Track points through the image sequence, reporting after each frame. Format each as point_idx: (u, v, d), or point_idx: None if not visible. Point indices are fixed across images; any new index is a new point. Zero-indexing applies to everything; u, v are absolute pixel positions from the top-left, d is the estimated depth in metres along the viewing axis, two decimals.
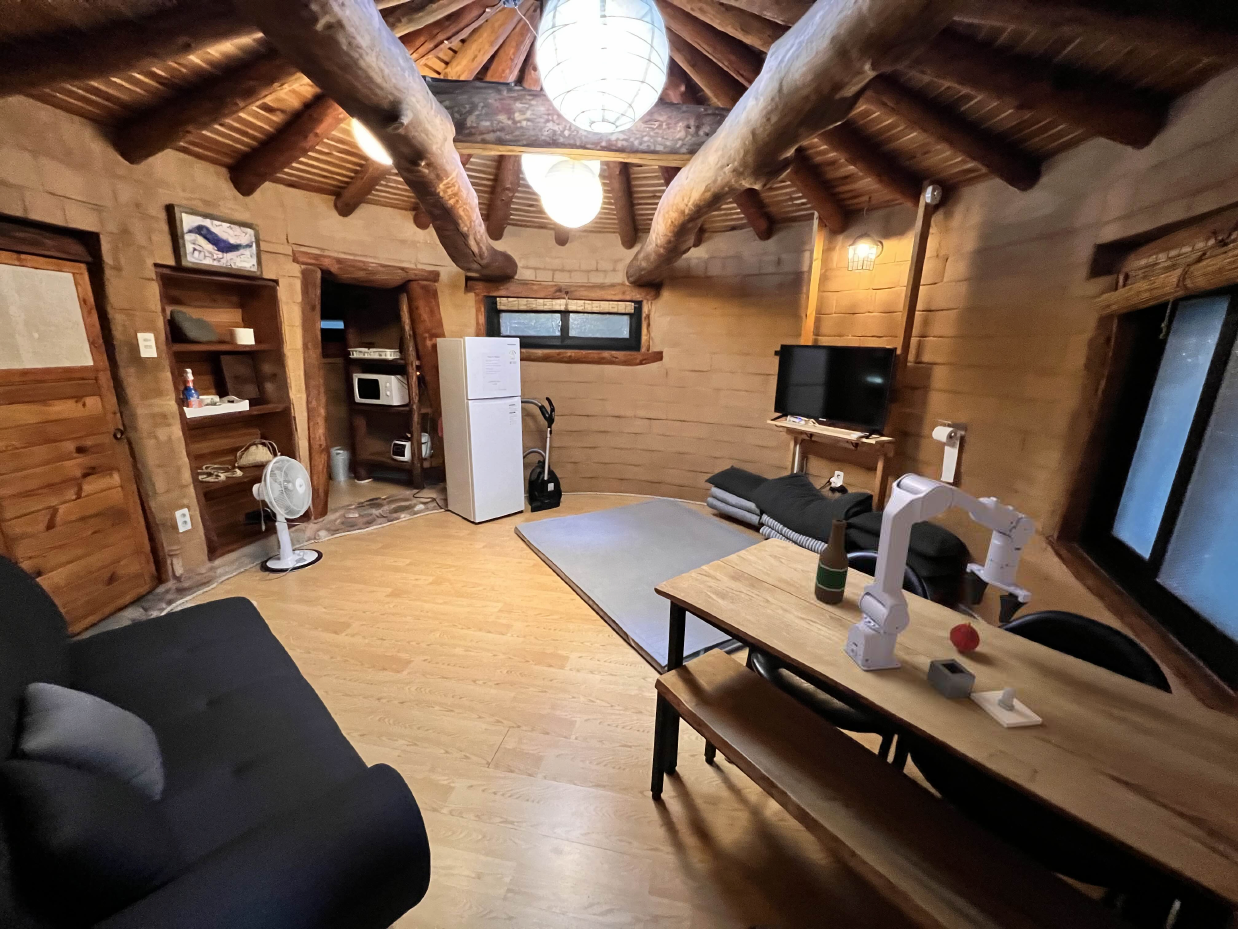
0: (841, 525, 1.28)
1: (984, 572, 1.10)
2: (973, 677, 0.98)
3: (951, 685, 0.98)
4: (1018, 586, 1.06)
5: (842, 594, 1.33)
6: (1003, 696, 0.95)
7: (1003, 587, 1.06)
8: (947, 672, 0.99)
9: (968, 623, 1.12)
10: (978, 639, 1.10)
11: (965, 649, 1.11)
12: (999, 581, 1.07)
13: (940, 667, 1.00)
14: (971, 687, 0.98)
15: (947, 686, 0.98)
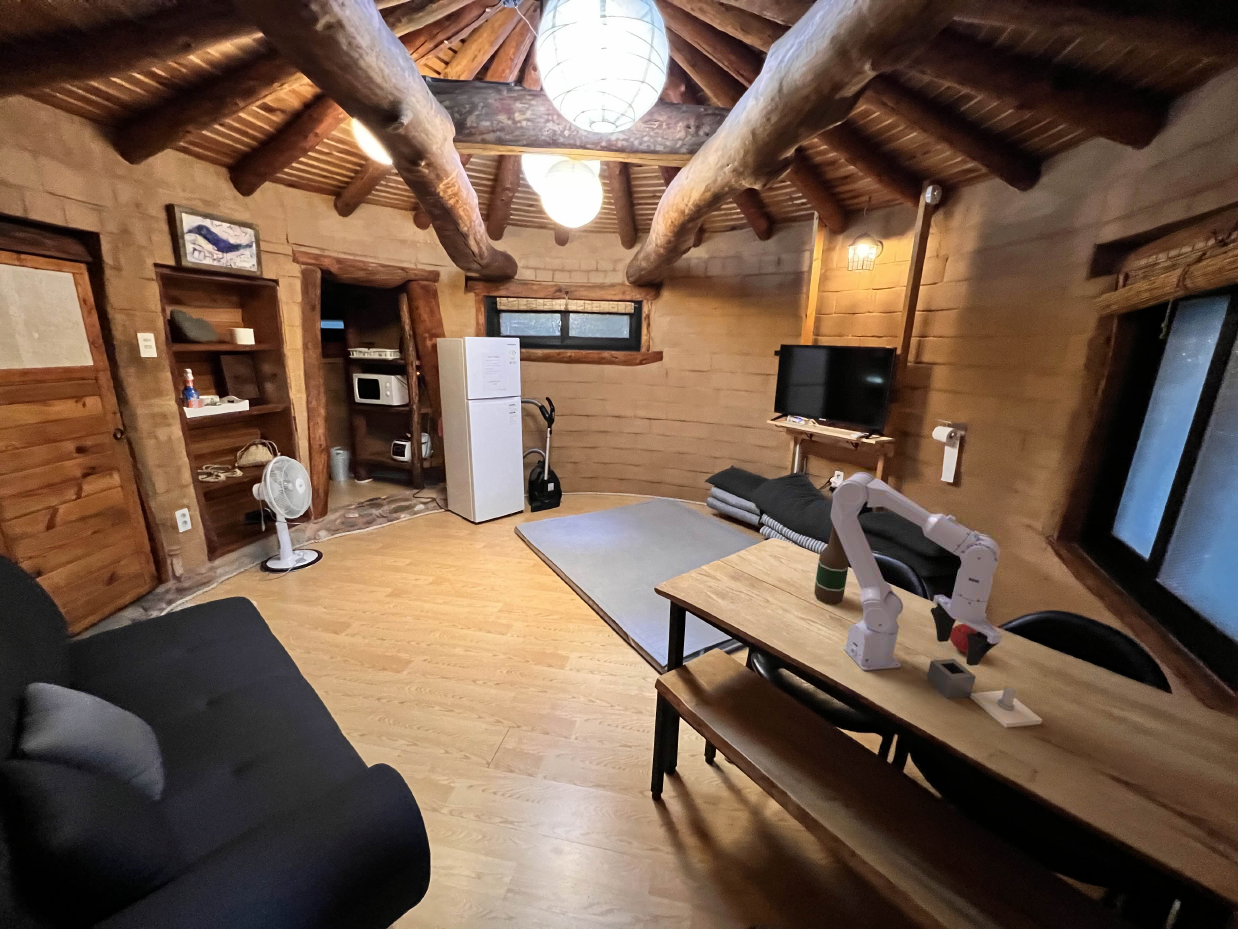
0: None
1: (951, 607, 0.97)
2: (973, 677, 0.98)
3: (951, 685, 0.98)
4: (988, 624, 0.94)
5: (842, 594, 1.33)
6: (1003, 696, 0.95)
7: (971, 625, 0.93)
8: (947, 672, 0.99)
9: None
10: None
11: (965, 649, 1.11)
12: (967, 618, 0.94)
13: (940, 667, 1.00)
14: (971, 687, 0.98)
15: (947, 686, 0.98)
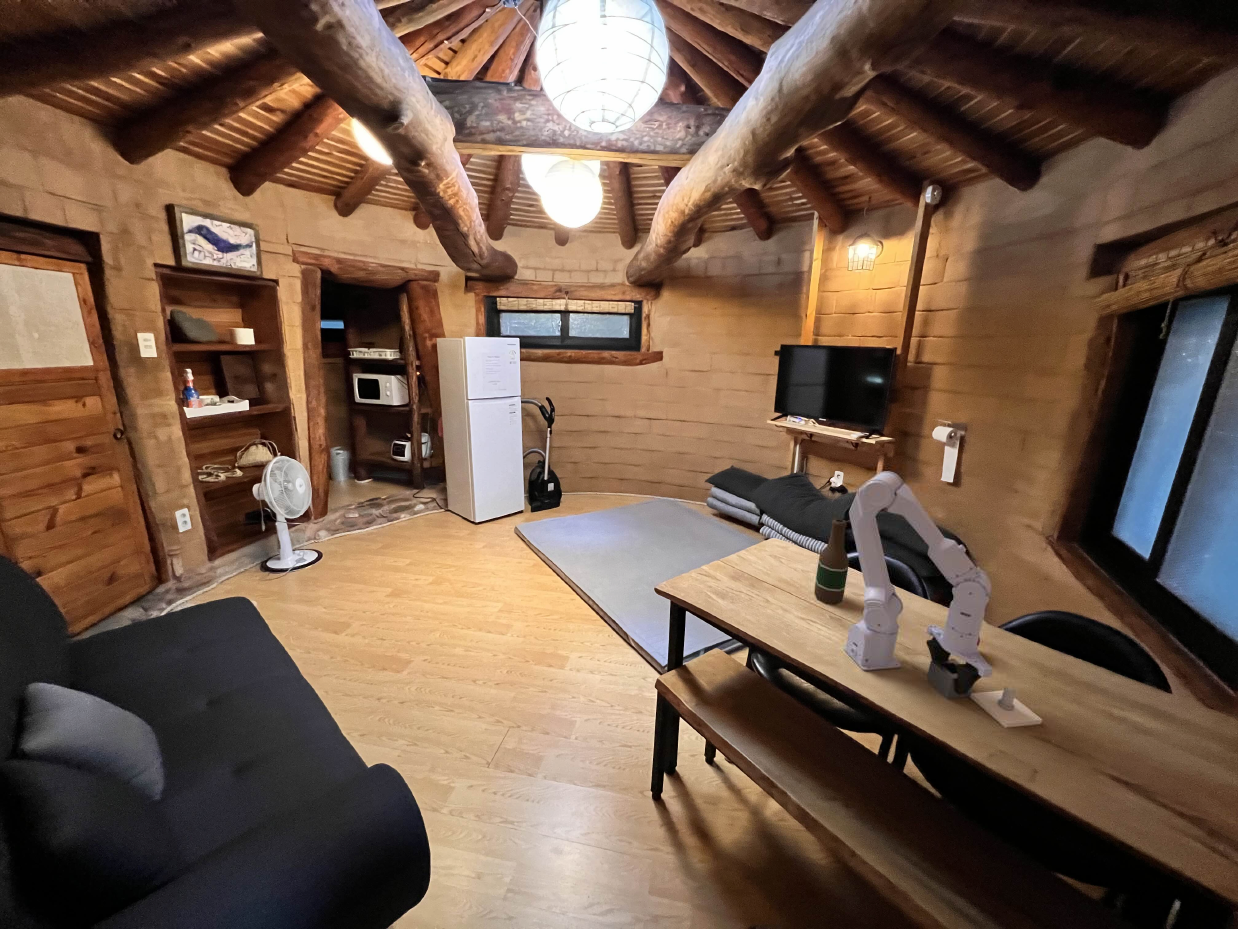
0: (841, 525, 1.28)
1: (943, 638, 0.99)
2: None
3: (951, 685, 0.98)
4: (979, 657, 0.95)
5: (842, 594, 1.33)
6: (1003, 696, 0.95)
7: (963, 658, 0.95)
8: (947, 672, 0.99)
9: None
10: (978, 639, 1.10)
11: None
12: (959, 651, 0.96)
13: (940, 667, 1.00)
14: (971, 687, 0.98)
15: (947, 686, 0.98)
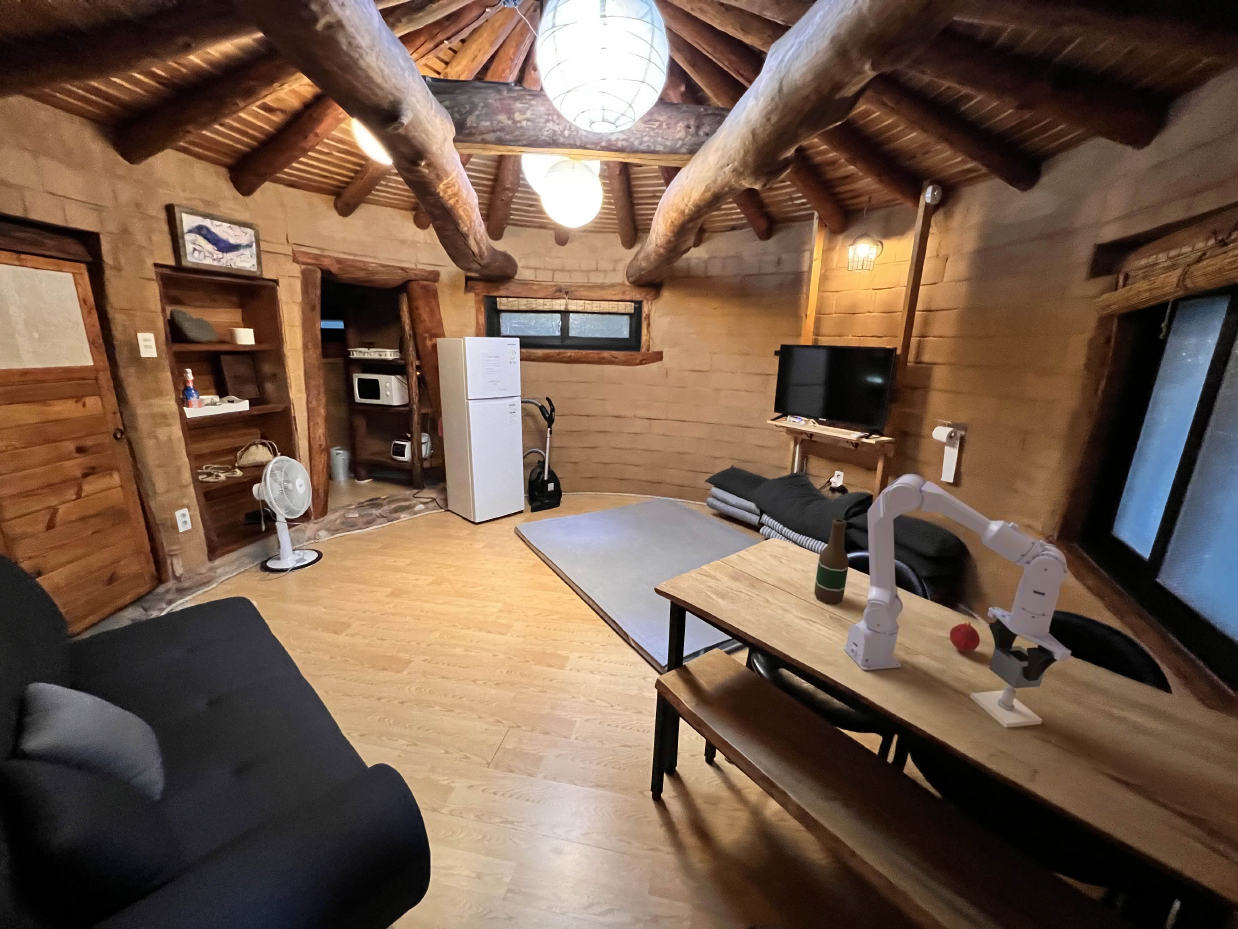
0: (841, 525, 1.28)
1: (1011, 620, 0.91)
2: None
3: (1019, 674, 0.90)
4: (1053, 639, 0.87)
5: (842, 594, 1.33)
6: (1003, 696, 0.95)
7: (1035, 641, 0.87)
8: (1015, 660, 0.91)
9: (968, 623, 1.12)
10: (978, 639, 1.10)
11: (965, 649, 1.11)
12: (1030, 633, 0.88)
13: (1006, 655, 0.92)
14: (1041, 676, 0.91)
15: (1014, 675, 0.90)
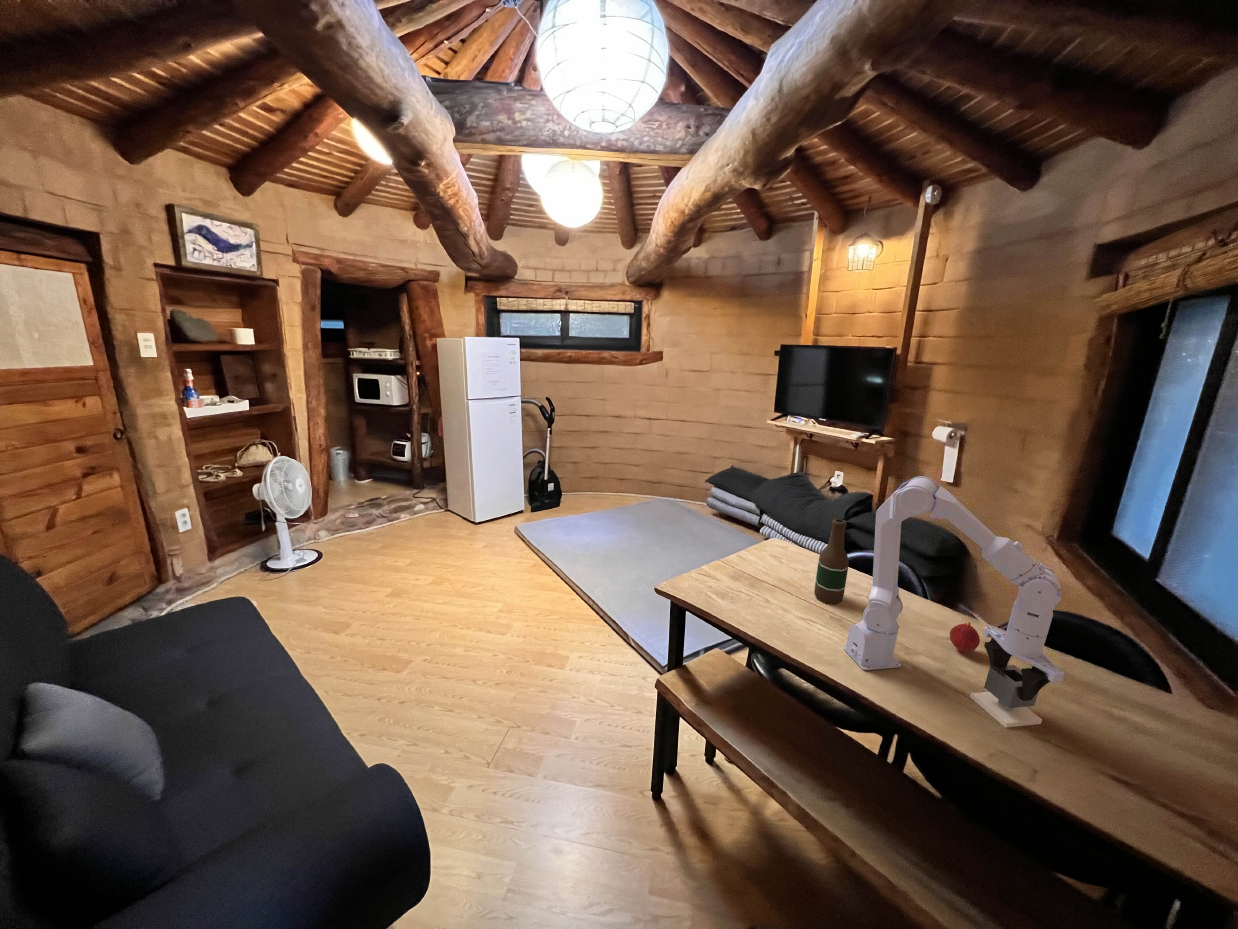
0: (841, 525, 1.28)
1: (1005, 641, 0.92)
2: None
3: (1014, 694, 0.91)
4: (1047, 660, 0.89)
5: (842, 594, 1.33)
6: None
7: (1029, 662, 0.88)
8: (1009, 680, 0.92)
9: (968, 623, 1.12)
10: (978, 639, 1.10)
11: (965, 649, 1.11)
12: (1024, 654, 0.89)
13: (1001, 674, 0.94)
14: (1035, 696, 0.92)
15: (1009, 695, 0.92)
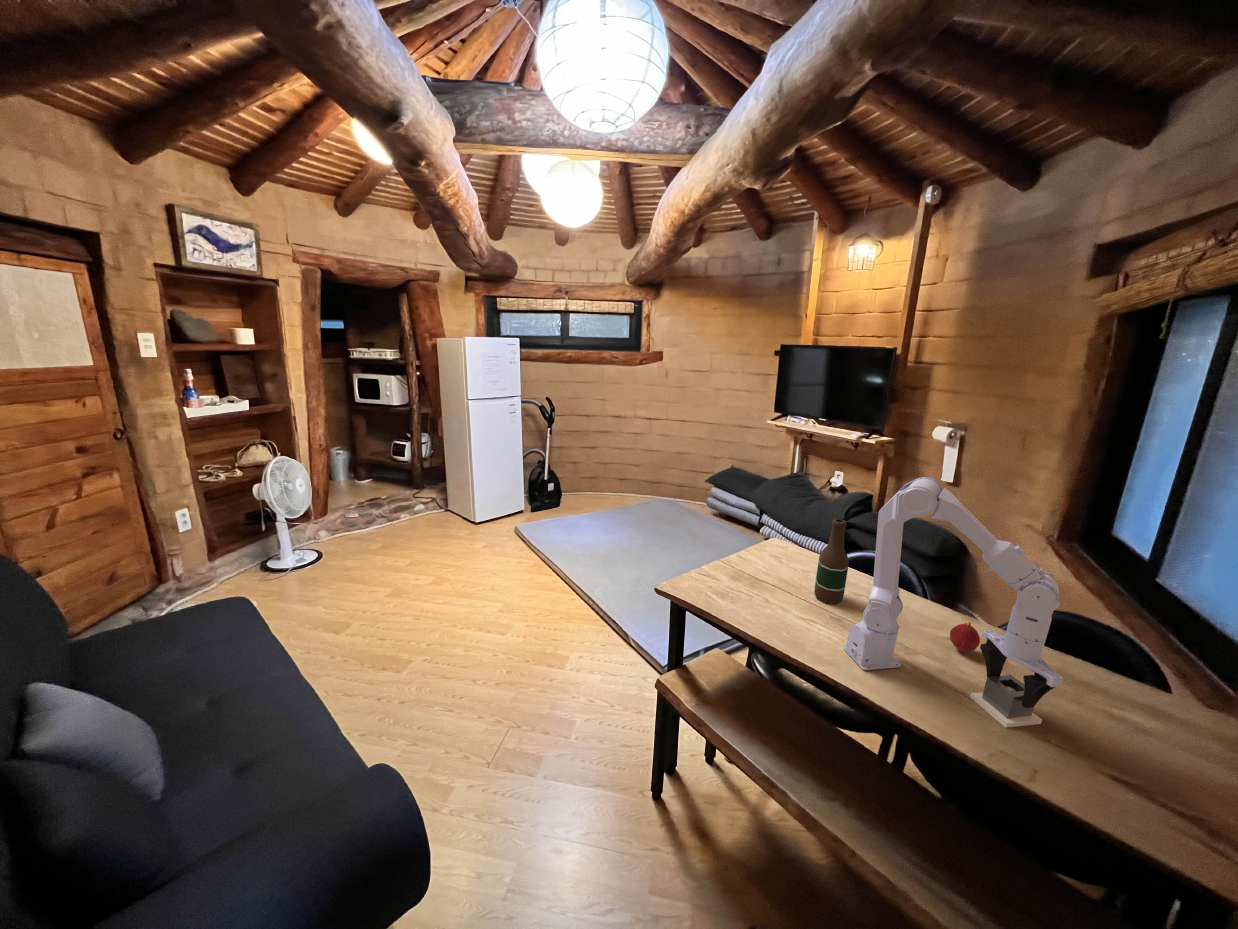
0: (841, 525, 1.28)
1: (1004, 645, 0.93)
2: None
3: (1012, 704, 0.91)
4: (1046, 665, 0.89)
5: (842, 594, 1.33)
6: None
7: (1028, 666, 0.89)
8: (1007, 690, 0.93)
9: (968, 623, 1.12)
10: (978, 639, 1.10)
11: (965, 649, 1.11)
12: (1023, 658, 0.90)
13: (998, 685, 0.94)
14: None
15: (1007, 705, 0.92)
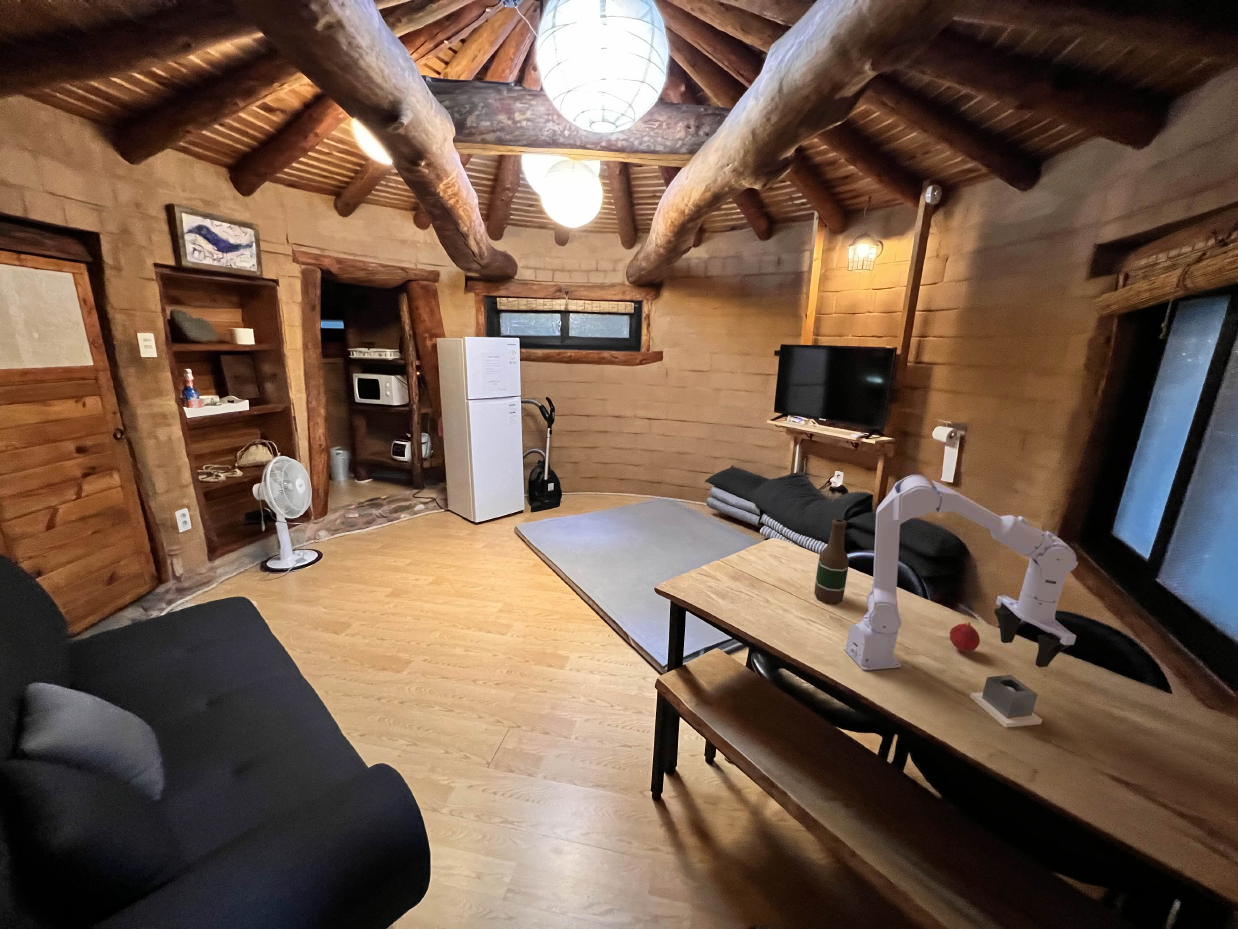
0: (841, 525, 1.28)
1: (1018, 607, 0.96)
2: (1035, 695, 0.92)
3: (1012, 704, 0.91)
4: (1059, 625, 0.92)
5: (842, 594, 1.33)
6: None
7: (1042, 626, 0.92)
8: (1007, 690, 0.93)
9: (968, 623, 1.12)
10: (978, 639, 1.10)
11: (965, 649, 1.11)
12: (1037, 619, 0.93)
13: (998, 685, 0.94)
14: (1032, 706, 0.92)
15: (1007, 705, 0.92)
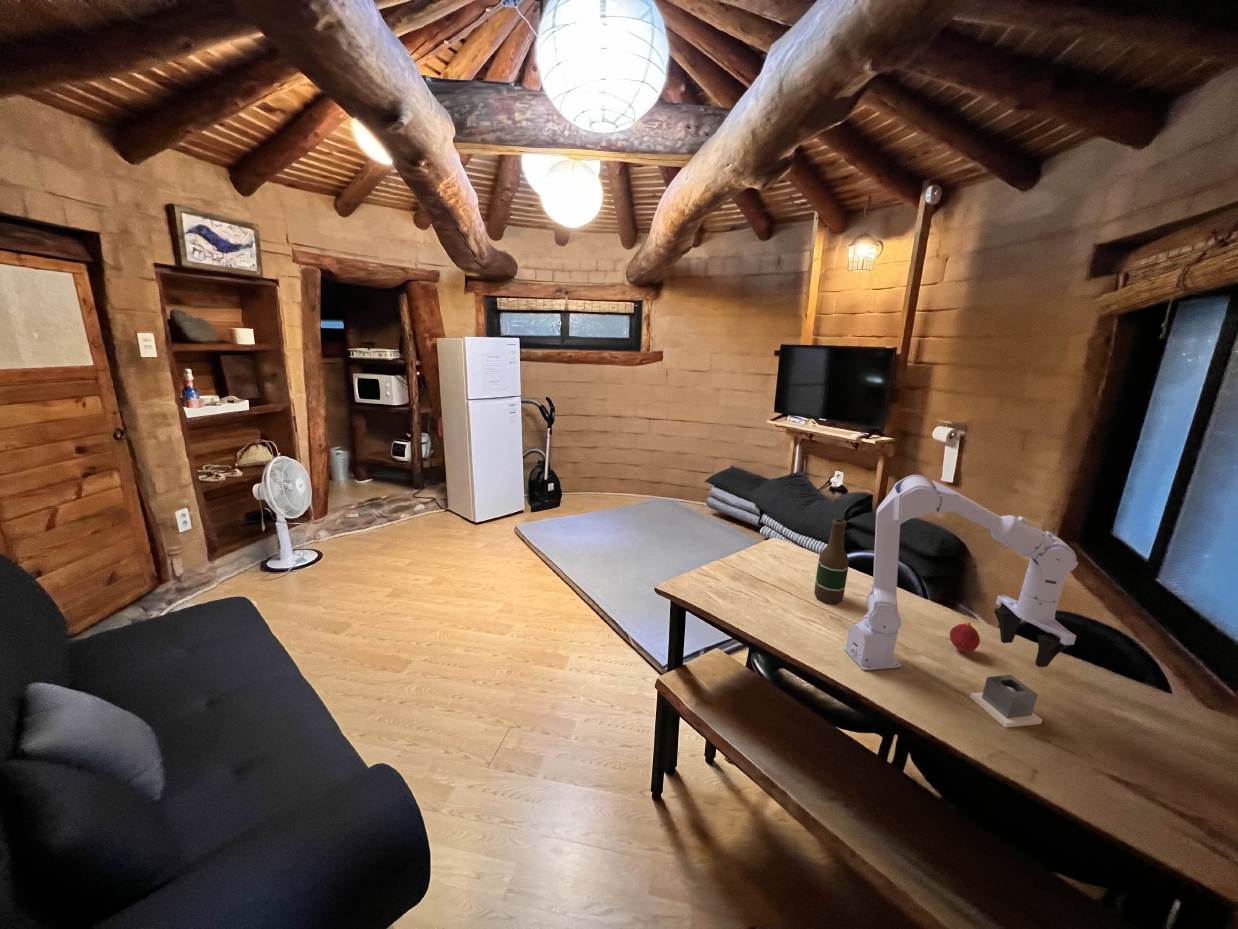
0: (841, 525, 1.28)
1: (1018, 607, 0.96)
2: (1035, 695, 0.92)
3: (1012, 704, 0.91)
4: (1059, 625, 0.92)
5: (842, 594, 1.33)
6: None
7: (1042, 626, 0.92)
8: (1007, 690, 0.93)
9: (968, 623, 1.12)
10: (978, 639, 1.10)
11: (965, 649, 1.11)
12: (1037, 619, 0.93)
13: (998, 685, 0.94)
14: (1032, 706, 0.92)
15: (1007, 705, 0.92)
